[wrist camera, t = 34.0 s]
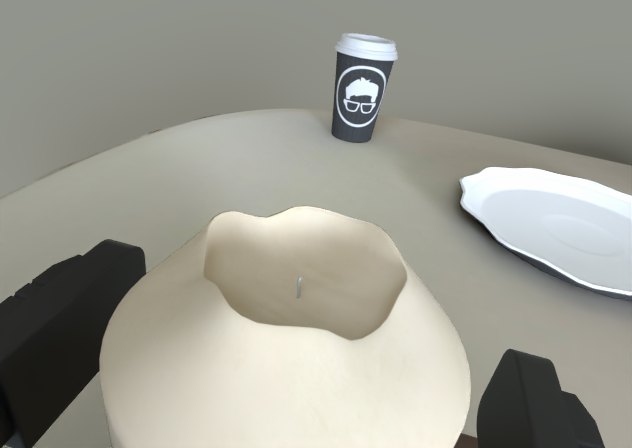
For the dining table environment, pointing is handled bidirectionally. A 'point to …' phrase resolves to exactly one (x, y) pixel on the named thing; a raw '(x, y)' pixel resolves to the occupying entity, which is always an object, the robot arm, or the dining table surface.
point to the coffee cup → (360, 84)
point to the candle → (283, 343)
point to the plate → (557, 224)
